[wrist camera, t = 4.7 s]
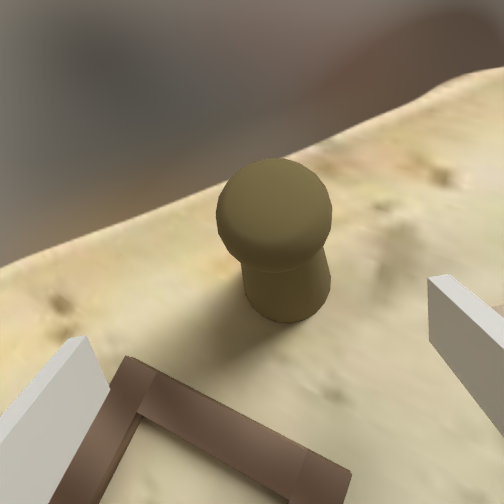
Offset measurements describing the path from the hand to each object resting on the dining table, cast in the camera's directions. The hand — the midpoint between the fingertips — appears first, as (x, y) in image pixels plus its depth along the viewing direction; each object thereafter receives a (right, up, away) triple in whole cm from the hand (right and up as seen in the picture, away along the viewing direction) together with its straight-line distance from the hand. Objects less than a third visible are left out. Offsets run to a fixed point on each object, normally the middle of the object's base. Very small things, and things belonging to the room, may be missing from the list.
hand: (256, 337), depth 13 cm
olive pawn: (+2, +1, +11) cm, 11 cm away
